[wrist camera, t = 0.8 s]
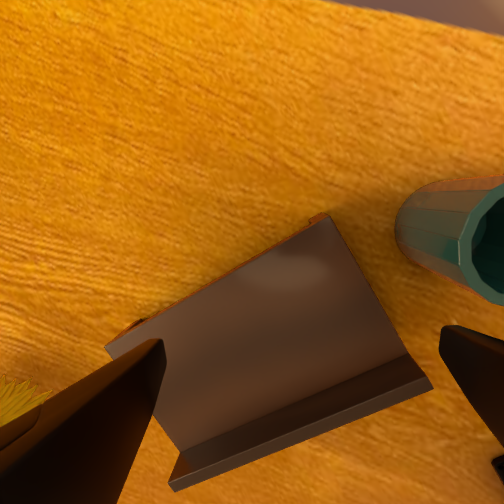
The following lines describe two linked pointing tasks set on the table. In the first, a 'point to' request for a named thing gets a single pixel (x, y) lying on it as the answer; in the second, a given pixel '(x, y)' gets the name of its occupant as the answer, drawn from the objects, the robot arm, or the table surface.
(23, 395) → the decorative plant
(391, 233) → the table surface
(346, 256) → the desk shelf
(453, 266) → the glazed pot
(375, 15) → the table surface
